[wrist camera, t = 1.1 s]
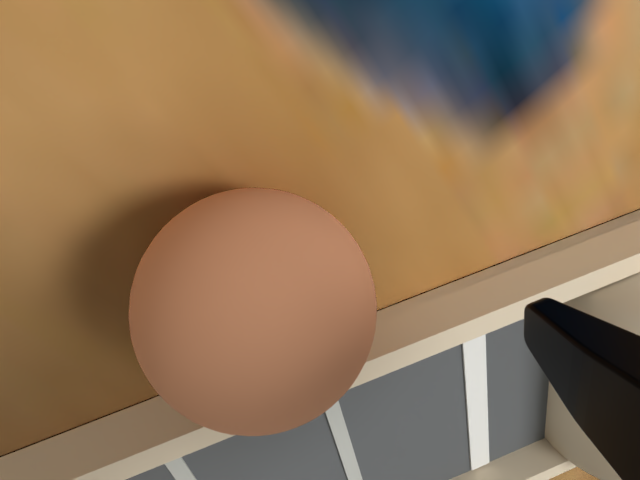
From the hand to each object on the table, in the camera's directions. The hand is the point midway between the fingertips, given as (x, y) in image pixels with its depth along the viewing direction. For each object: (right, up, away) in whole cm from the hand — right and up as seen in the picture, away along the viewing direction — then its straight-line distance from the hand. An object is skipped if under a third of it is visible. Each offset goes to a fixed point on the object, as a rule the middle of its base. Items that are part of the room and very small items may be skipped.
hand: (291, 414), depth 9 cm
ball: (-2, +3, +4) cm, 5 cm away
